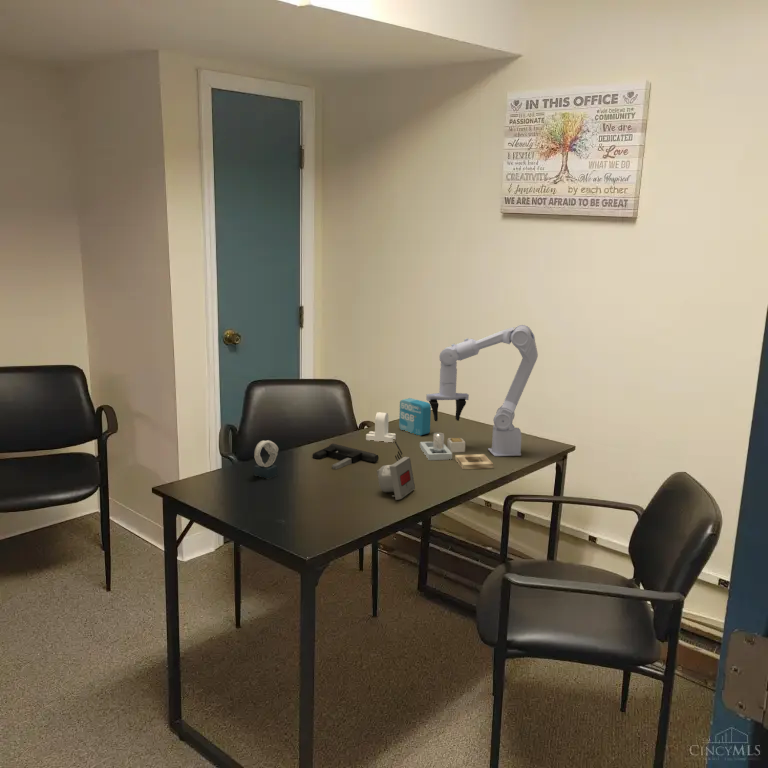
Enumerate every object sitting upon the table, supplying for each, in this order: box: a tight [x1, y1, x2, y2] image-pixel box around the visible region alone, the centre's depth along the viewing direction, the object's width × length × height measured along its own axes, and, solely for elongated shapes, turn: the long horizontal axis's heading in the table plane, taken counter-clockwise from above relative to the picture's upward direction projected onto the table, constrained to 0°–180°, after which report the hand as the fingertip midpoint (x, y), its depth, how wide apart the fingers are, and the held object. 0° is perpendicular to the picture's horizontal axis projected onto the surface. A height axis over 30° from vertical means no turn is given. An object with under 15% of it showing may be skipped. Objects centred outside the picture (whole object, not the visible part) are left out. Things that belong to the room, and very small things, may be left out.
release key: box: [450, 437, 462, 442], centre depth 247 cm, size 3×3×3 cm
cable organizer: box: [365, 411, 397, 443], centre depth 257 cm, size 5×10×10 cm, turn 73°
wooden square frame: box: [454, 453, 494, 470], centre depth 233 cm, size 10×10×2 cm
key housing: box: [446, 437, 466, 453], centre depth 247 cm, size 5×5×4 cm
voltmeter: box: [376, 440, 416, 501], centre depth 213 cm, size 27×11×10 cm, turn 9°
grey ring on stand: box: [253, 439, 279, 479], centre depth 218 cm, size 6×8×11 cm
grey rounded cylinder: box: [432, 432, 445, 453], centre depth 239 cm, size 4×4×8 cm
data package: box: [398, 397, 432, 437], centre depth 267 cm, size 12×4×12 cm, turn 44°
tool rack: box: [419, 441, 453, 461], centre depth 243 cm, size 8×14×2 cm, turn 9°
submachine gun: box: [311, 443, 379, 470], centre depth 234 cm, size 3×20×16 cm
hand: (446, 420), depth 248 cm, fingers open, 7 cm apart
